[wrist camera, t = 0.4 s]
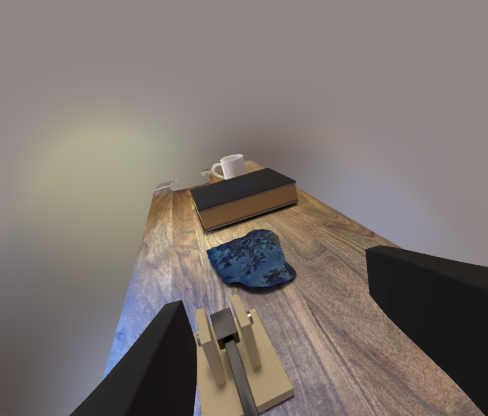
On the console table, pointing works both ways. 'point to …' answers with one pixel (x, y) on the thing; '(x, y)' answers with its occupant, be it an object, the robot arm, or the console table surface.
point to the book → (242, 197)
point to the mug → (231, 166)
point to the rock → (252, 260)
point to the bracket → (253, 359)
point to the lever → (234, 357)
